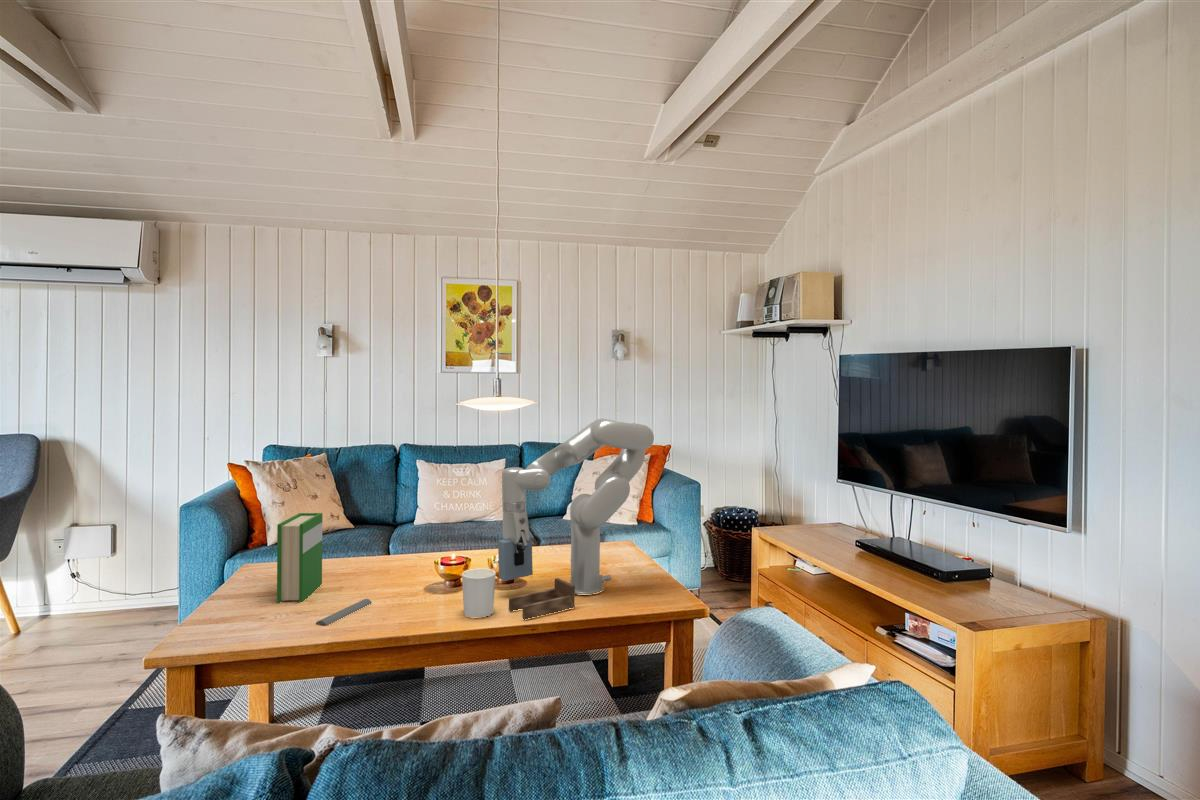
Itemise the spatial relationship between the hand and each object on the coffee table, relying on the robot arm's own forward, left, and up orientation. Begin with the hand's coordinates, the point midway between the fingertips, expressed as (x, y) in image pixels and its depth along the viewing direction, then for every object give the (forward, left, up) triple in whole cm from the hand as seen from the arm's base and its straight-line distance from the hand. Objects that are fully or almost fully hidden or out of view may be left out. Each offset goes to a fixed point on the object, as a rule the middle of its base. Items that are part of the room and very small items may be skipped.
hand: (515, 562), depth 200 cm
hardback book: (+56, -39, -11) cm, 69 cm away
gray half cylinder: (+49, -13, -11) cm, 52 cm away
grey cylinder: (+17, +9, -11) cm, 22 cm away
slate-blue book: (0, 0, -4) cm, 4 cm away
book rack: (+1, +17, -10) cm, 20 cm away
